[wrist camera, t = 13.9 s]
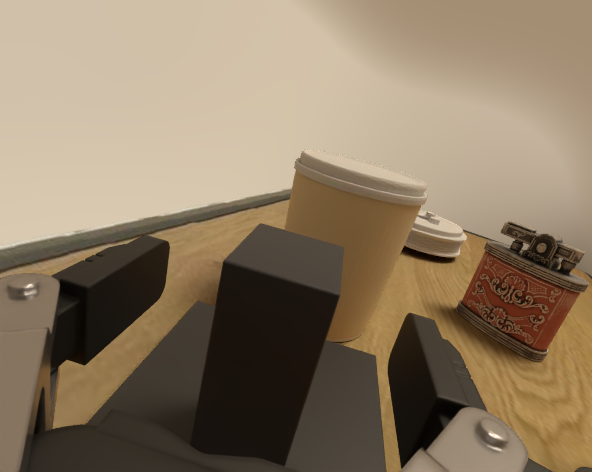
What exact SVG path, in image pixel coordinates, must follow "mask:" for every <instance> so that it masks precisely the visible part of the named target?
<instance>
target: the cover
mask: <svg viewBox="0 0 592 472" xmlns="http://www.w3.org/2000/svg"><path fill="white" fill-rule="evenodd" d="M343 257H344V247H342V246H339V245H335V244H332V243H328V242H325V241H321V240H318V239H314V238H311V237H307V236H303V235H300V234H296V233H293V232H289V231H286V230H282V229H279V228H275V227H272V226H268V225H265V224H259V225H258V226H257V227H256V228H255V229H254V230H253V231H252V232H251V233H250V234H249V235H248V236H247V237H246V238H245V239H244V240H243V241H242V242H241V243H240V245H239V246H238V247H237V248H236V249H235V250H234V251H233V252H232V253H231V254H230V255H229V256H228V257H227V258H226V259H225V260H224V261H223V266H222V272H221V277H220V282H219V288H218V293H217V299H216V304H215V306H213V305H210V304H206V303H203V302H200V301H197V302H196V303H195V304H194V305H193V306H192V307H191V309H190V310H189V311H188V312H187V313H186V314H185V315H184V316H183V317H182V319H181V320H180V321H179V322H178V323H177V324H176V325H175V326H174V327H173V329H172V330H171V331H170V332H169V333H168V334H167V335H166V336H165V337H164V338H163V340H162V341H161V342H160V343H159V344H158V345H157V346H156V347H155V348H154V350H153V351H152V352H151V353H150V354H149V355H148V356H147V357H146V358H145V360H144V361H143V362H142V363H141V364H140V365H139V366H138V367H137V368H136V369H135V371H134V372H133V373H132V374H131V375H130V376H129V377H128V378H127V379H126V381H125V382H124V383H123V384H122V385H121V386H120V387H119V388H118V389H117V391H116V392H115V393H114V394H113V395H112V396H111V397H110V398H109V399H108V400H107V402H106V403H105V404H104V405H103V406H102V407H101V408H100V409H99V410H98V412H97V413H96V414H95V415H94V416H93V417H92V418H91V419H90V420H89V422H88V423H87V424H97V425H99V423H100V422H101V421H102V420H103V419H104V418H105V416H106V415H107V414H108V413H109V412H110V411H111V409H115V410H118V411H121V412H124V413H127V414H130V415H133V416H136V417H139V418H142V419H145V420H148V421H151V422H154V423H157V424H159V425H161V426H162V427H164V428H165V429H167V430H168V431H170V432H171V433H173V434H174V435H176V436H177V437H179V438H180V439H182V440H183V441H185V442H186V443H188V444H189V445H191V446H192V447H193V448H195V449H196V450H198V451H200V452H202V453H205V454H212V455H225V456H239V457H253V458H261V459H264V460H267V461H270V462H273V463H276V464H279V465H282V466H285V467H288V468H291V469H294V470H297V471H300V472H386V464H385V453H384V442H383V431H382V420H381V409H380V398H379V387H378V376H377V365H376V356H375V355H372V354H369V353H366V352H362V351H359V350H356V349H353V348H349V347H346V346H343V345H340V344H336V343H333V342H330V341H327V340H326V338H327V335H328V332H329V329H330V326H331V323H332V320H333V317H334V314H335V311H336V307H337V304H338V301H339V298H340V292H341V280H342V269H343ZM87 424H86V425H87Z"/></svg>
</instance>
